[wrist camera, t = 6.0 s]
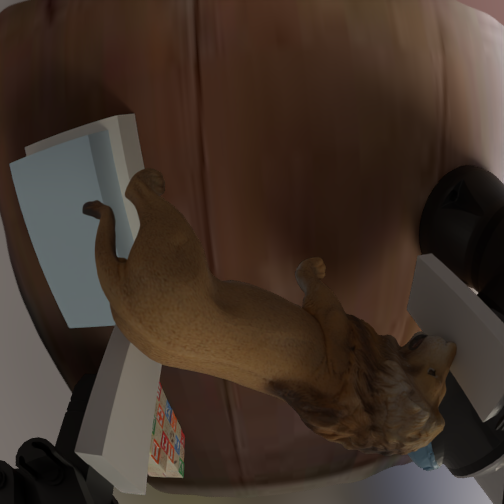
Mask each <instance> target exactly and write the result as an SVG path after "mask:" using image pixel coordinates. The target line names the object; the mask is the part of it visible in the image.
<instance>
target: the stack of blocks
mask: <svg viewBox="0 0 504 504" xmlns="http://www.w3.org/2000/svg"><path fill="white" fill-rule="evenodd" d="M184 444H185V436H184V434H183V432H182V430H181V427H180V425H179V423H178V421H177V419H176V417H175V415H174V413H173V410H172V409H171V407H170V405H169V403H168V401H167V399H166V396H165V394H164V392H163V390H162V387H161V384H160V382H159V385H158V391H157V398H156V405H155V412H154V420H153V427H152V435H151V444H150V453H149V462H148V472H147V473H148V474H149V475H150V476H155V477H184Z"/></svg>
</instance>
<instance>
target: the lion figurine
mask: <svg viewBox="0 0 504 504" xmlns="http://www.w3.org/2000/svg"><path fill="white" fill-rule="evenodd" d="M164 191H165V180H164V178H163V176H162V174H161V172H159V171H157V170H155V169H143V170H140V171H139V172H137V173H136V174H135V175H134V176H133V177H132V178H131V180H130V182H129V184H128V186H127V188H126V191H125V197H126V198H127V199H128V200H129V201H131V202H132V203H133V205H134V206H135V208H136V210H137V213H138V217H139V220H140V228H139V232H138V234H137V237H136V239H135V241H134V243H133V246H132V248H131V250H130V253H129V256H128V259H126V258H121V257H117V255H116V232H115V225H116V220H115V215H114V212H113V210H112V208H111V207H110V206H107V205H104V204H103V203H101V202H100V201H99V200H95V201H89V202H86V203H85V204H84V205H83V208H82V213H83V214H85V215H88V216H92V217H94V218H96V219H99V220H100V222H99V225H98V229H97V234H96V240H95V262H96V269H97V275H98V279H99V282H100V285H101V288H102V290H103V292H104V294H105V296H106V298H107V299H108V301H109V303H110V309H111V313H112V317H113V320H114V322H115V323H116V325H117V327H118V328H119V329H120V331H121V332H122V333H123V335H124V336H125V337H126V338H127V339H128V340H129V341H130V342H131V343H132V344H133V345H134V346H135V347H136V348H137V349H139V350H140V351H141V352H142V353H143V354H145V355H146V356H147V357H148V358H150V359H151V360H153V361H155V362H157V363H160V364H163V365H166V366H171V367H176V368H181V369H186V370H192V371H196V372H201V373H205V374H209V375H213V376H216V377H219V378H223V379H226V380H229V381H232V382H235V383H237V384H240V385H243V386H245V387H248V388H251V389H254V390H257V391H260V392H263V393H266V394H269V395H271V396H274V397H277V398H279V399H281V400H283V401H285V402H287V403H288V404H289V405H290V406H291V407H292V408H293V409H294V410H295V411H296V412H297V413H298V414H299V416H300V418H301V419H302V421H303V422H304V424H305V425H306V426H307V427H308V428H310V429H311V430H312V431H313V432H314V433H316V434H318V435H320V436H322V437H323V438H325V439H327V440H328V441H332V442H337V443H340V444H343V445H344V447H345V448H346V449H349V450H353V449H357V450H359V451H361V452H363V453H367V454H370V453H378V454H382V455H385V456H390V455H392V454H400V455H405V454H408V453H410V452H415V451H417V450H418V449H419V448H422V447H425V446H427V445H428V444H429V443H430V442H431V441H432V440H433V439H434V438H435V437H436V436H437V435H438V434H439V433H440V432H441V431H443V428H444V426H445V420H444V419H443V417H442V415H441V414H440V412H439V409H438V407H439V405H440V403H441V401H442V399H443V397H444V396H445V393H446V385H445V380H446V377H447V374H448V372H449V370H450V367H451V365H452V362H453V360H454V358H455V356H456V352H457V346H456V344H455V343H454V342H452V341H448V342H447V341H446V340H444V339H443V338H442V337H440V336H437V335H431V336H428V335H427V334H425V333H424V332H417V333H415V334H414V336H413V337H412V338H411V339H410V341H409V342H408V343H407V344H406V345H405V346H403V347H400V346H399V344H398V342H397V340H396V339H395V338H394V337H393V336H392V335H385V336H382V335H378V334H377V333H376V332H375V330H374V329H373V328H372V327H371V326H370V325H369V324H368V323H366V322H365V321H364V320H362V319H361V320H360V319H359V318H357V317H355V316H353V315H349V314H346V313H345V311H344V309H343V307H342V305H341V303H340V302H339V300H338V299H337V297H336V296H335V295H334V293H333V292H332V291H331V290H330V289H329V287H328V286H326V285H325V284H323V283H322V282H321V281H320V279H321V278H323V277H324V276H325V269H326V266H325V264H324V263H323V260H322V259H321V258H320V257H313V258H309V259H306V260H304V261H302V262H301V263H300V265H299V266H298V268H297V269H296V271H295V277H296V280H297V282H298V284H299V286H300V288H301V290H303V291H304V293H305V297H304V299H303V306H302V308H301V307H300V306H299V305H296V304H293V303H292V302H290V301H288V300H286V299H284V298H282V297H281V296H279V295H277V294H274V293H272V292H269V291H267V290H265V289H262V288H259V287H257V286H254V285H251V284H248V283H244V282H240V281H235V280H227V281H221V280H219V279H217V278H216V277H215V276H213V275H212V274H211V272H210V271H209V268H208V265H207V261H206V257H205V253H204V250H203V247H202V245H201V242H200V240H199V239H198V237H197V236H196V234H195V233H194V231H193V229H192V228H191V226H190V225H189V223H188V222H187V220H186V219H185V217H184V216H183V215H182V214H181V213H180V212H179V211H178V210H177V209H176V208H175V207H174V206H173V205H171V204H170V203H169V202H167V201H166V200H165V199H163V198H162V197H161V196H159V195H162V194H163V193H164Z"/></svg>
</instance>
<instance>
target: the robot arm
mask: <svg viewBox="0 0 504 504" xmlns="http://www.w3.org/2000/svg"><path fill="white" fill-rule="evenodd" d="M419 238H420V247H421V251H422V254H423V255H419V256H417V262H416V267H415V273H414V278H413V283H412V288H411V292H410V297H409V302H408V306H407V311H408V312H409V313H410V315H411V316H412V317H413V319H414V320H415V322H416V323H417V324H418V326H419V327H420V328H421V330H422V331H423V332H424V333H425V334H427V335H428V336H431V335H437V336H440V337H442V338H443V339H444V340H446V341H447V342H448V341H452V342H454V343H455V344H456V346H457V352H456V356H455V358H454V360H453V362H452V365H451V367H450V370H449V372H448V374H447V377H446V380H445V385H446V393H445V396H444V397H443V399H442V401H441V403H440V405H439V407H438V409H439V412H440V414H441V415H442V417H443V419H444V420H445V426H444V428H443V431H441V432H440V433H439V434H438V435H437V436H436V437H435V438H434V439H433V440H432V441H431V442H430V443H429V444H428V445H427V446H425V447H422V448H419V449H418V450H417V451H415V452H410V453H408V455H409V456H410V458H411V459H412V460H413V462H415V464H416V465H418V466H419V467H420V468H423V470H426V471H431V470H434V469H438V468H439V467H441V465H442V464H444V465H446V467H447V468H448V469H449V471H450V472H451V473H452V474H453V475H454V476H455V477H457V478H467V477H474V478H475V479H476V481H477V482H478V484H479V485H480V486H481V488H482V489H483V490H484V492H485V493H486V494H487V496H488V497H489V498H490V500H491V501H492V502H493V504H504V184H503V183H502V182H501V181H500V180H499V179H498V178H497V177H496V176H495V175H494V174H492V173H491V172H489V171H487V170H484V169H482V168H479V167H476V166H471V165H467V166H462V167H458V168H456V169H454V170H452V171H451V172H449V173H448V174H447V175H446V176H444V177H443V178H442V179H441V180H440V182H439V183H438V184H437V185H436V187H435V188H434V190H433V191H432V193H431V195H430V196H429V198H428V200H427V203H426V205H425V208H424V211H423V214H422V218H421V223H420V233H419ZM469 287H471V288H473V289H475V290H476V291H477V292H478V294H477V295H476V294H475V293H474V292H473V291H472V290H471V289H470V288H469ZM161 366H162V364H160V363H157V362H155V361H153V360H151V359H150V358H148V357H147V356H146V355H145V354H143V353H142V352H141V351H140V350H139V349H137V348H136V347H135V346H134V345H133V344H132V343H131V342H130V341H129V340H128V339H127V338H126V337H125V336H124V335H123V333H122V332H121V331H120V329H119V328H118V327H117V325H116V324H115V327H114V329H113V332H112V335H111V337H110V340H109V343H108V345H107V348H106V351H105V354H104V356H103V359H102V362H101V365H100V368H99V371H98V374H85V375H84V376H83V377H82V378H81V379H80V381H79V382H78V383H77V384H76V385H75V388H74V391H73V393H72V396H71V402H69V405H68V408H67V412H66V413H65V417H64V419H63V423H62V426H61V429H60V432H59V435H58V438H57V442H56V445H55V446H53V445H52V444H51V443H50V442H49V441H48V440H46V439H43V438H39V437H38V438H32V439H29V440H28V441H26V442H24V443H23V444H22V446H21V447H20V448H19V449H18V452H17V455H16V466H17V467H18V468H19V469H14V468H12V467H11V466H10V465H9V464H7V463H6V462H5V461H1V460H0V504H118V501H117V500H116V499H115V497H114V496H113V495H112V494H113V487H115V488H117V489H118V490H119V491H121V492H123V493H131V494H141V495H146V483H147V472H148V462H149V453H150V444H151V435H152V427H153V420H154V412H155V405H156V398H157V391H158V385H159V378H160V372H161Z"/></svg>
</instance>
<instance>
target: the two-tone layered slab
mask: <svg viewBox="0 0 504 504" xmlns="http://www.w3.org/2000/svg"><path fill="white" fill-rule="evenodd" d="M25 152H26V157H24V158H22V159H19V160H17V161H15V162H12V163H10V164H9V165H10V169H11V173H12V178H13V182H14V186H15V189H16V193H17V197H18V200H19V204H20V207H21V210H22V214H23V217H24V220H25V223H26V226H27V229H28V232H29V235H30V238H31V241H32V244H33V246H34V249H35V252H36V255H37V257H38V260H39V262H40V265H41V267H42V270H43V272H44V275H45V277H46V279H47V282H48V284H49V286H50V289H51V291H52V293H53V295H54V298H55V300H56V302H57V304H58V306H59V308H60V310H61V312H62V314H63V316H64V318H65V320H66V322H67V324H68V326H69V328H80V327H97V326H111V325H115V324H116V323H115V322H114V320H113V317H112V313H111V309H110V303H109V301H108V299H107V298H106V296H105V294H104V292H103V290H102V288H101V285H100V282H99V279H98V275H97V269H96V262H95V240H96V234H97V229H98V225H99V222H100V220H99V219H96V218H94V217H92V216H88V215H85V214H83V213H82V208H83V205H84V204H85V203H86V202H89V201H95V200H99V201H100V202H101V203H103V204H104V205H107V206H110V207H111V208H112V210H113V212H114V215H115V220H116V225H115V232H116V255H117V257H121V258H126V259H128V256H129V253H130V250H131V248H132V246H133V243H134V241H135V239H136V237H137V234H138V232H139V228H140V220H139V217H138V213H137V210H136V208H135V206H134V205H133V203H132V202H131V201H129V200H128V199H127V198H126V197H125V191H126V188H127V186H128V184H129V182H130V180H131V178H132V177H133V176H134V175H135V174H136V173H137V172H139V171H140V170H143V169H145V168H144V163H143V158H142V153H141V148H140V142H139V137H138V131H137V125H136V119H135V114H125V115H116V116H113V117H109V118H106V119H102V120H99V121H96V122H92V123H89V124H86V125H83V126H80V127H77V128H74V129H71V130H68V131H65V132H63V133H60V134H57V135H54V136H52V137H49V138H47V139H44V140H41V141H39V142H36V143H34V144H32V145H29V146H27V147H25Z"/></svg>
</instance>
